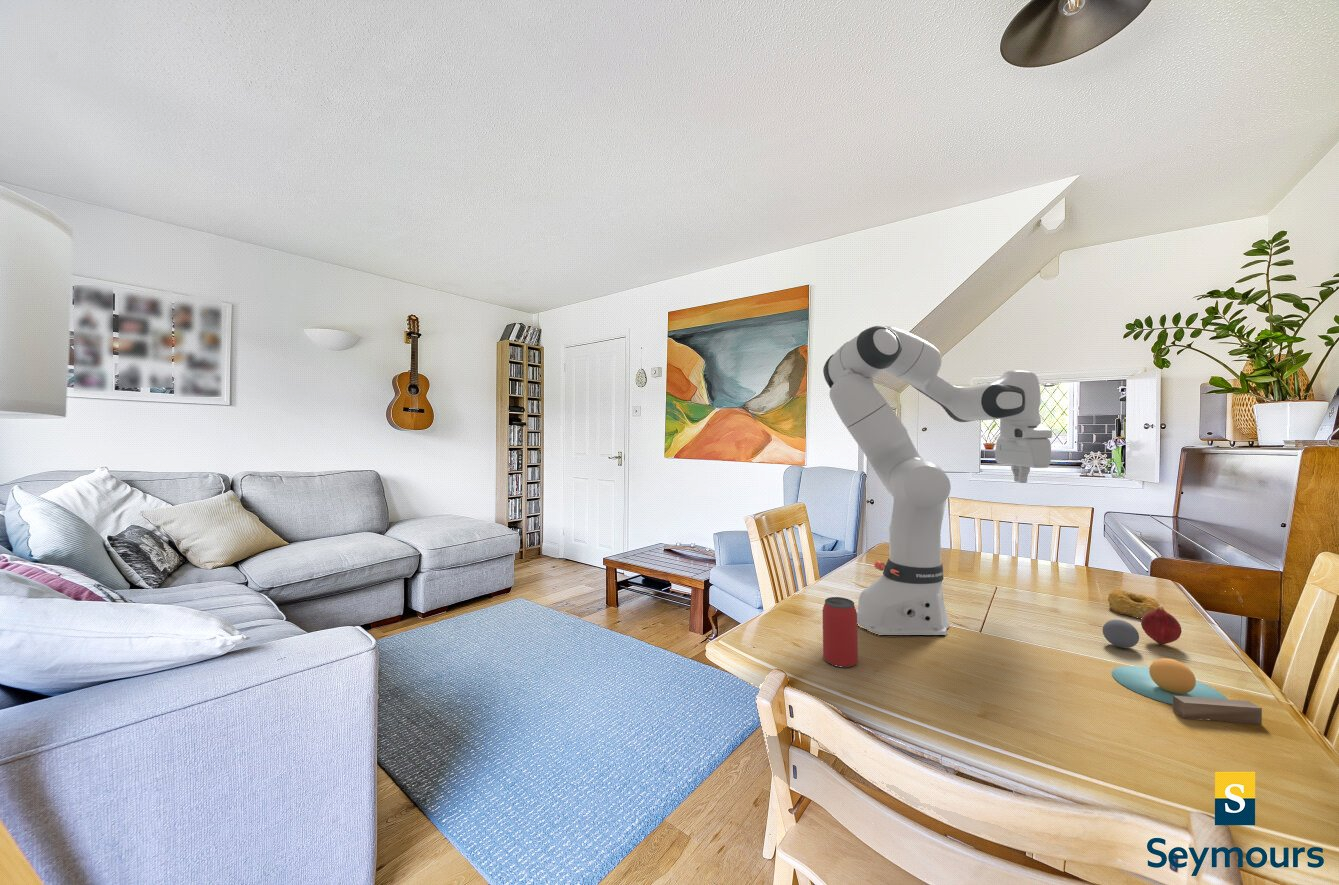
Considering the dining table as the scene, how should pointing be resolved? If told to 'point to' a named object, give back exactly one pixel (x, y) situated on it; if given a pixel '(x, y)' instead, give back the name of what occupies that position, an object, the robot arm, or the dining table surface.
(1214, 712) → the wall
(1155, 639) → the onion
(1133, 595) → the bagel
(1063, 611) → the dining table surface
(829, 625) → the beer can
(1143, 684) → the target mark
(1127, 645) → the grey rubber ball
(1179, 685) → the orange ball
